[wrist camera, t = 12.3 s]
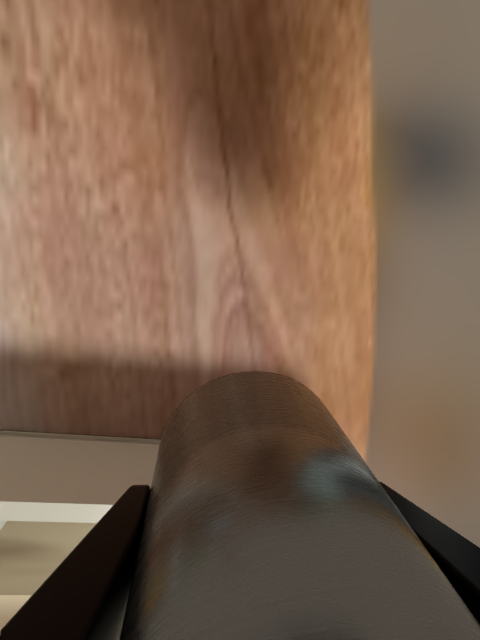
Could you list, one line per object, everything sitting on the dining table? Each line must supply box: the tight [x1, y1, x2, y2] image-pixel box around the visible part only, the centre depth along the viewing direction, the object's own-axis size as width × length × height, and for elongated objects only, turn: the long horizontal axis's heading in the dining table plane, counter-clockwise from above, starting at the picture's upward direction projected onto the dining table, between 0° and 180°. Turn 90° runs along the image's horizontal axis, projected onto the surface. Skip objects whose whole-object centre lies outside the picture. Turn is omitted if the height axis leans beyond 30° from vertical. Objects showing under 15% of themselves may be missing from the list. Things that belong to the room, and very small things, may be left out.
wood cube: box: [0, 521, 97, 631], centre depth 18 cm, size 5×5×5 cm
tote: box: [0, 430, 161, 530], centre depth 19 cm, size 18×14×5 cm
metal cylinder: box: [119, 371, 480, 640], centre depth 6 cm, size 5×5×7 cm
